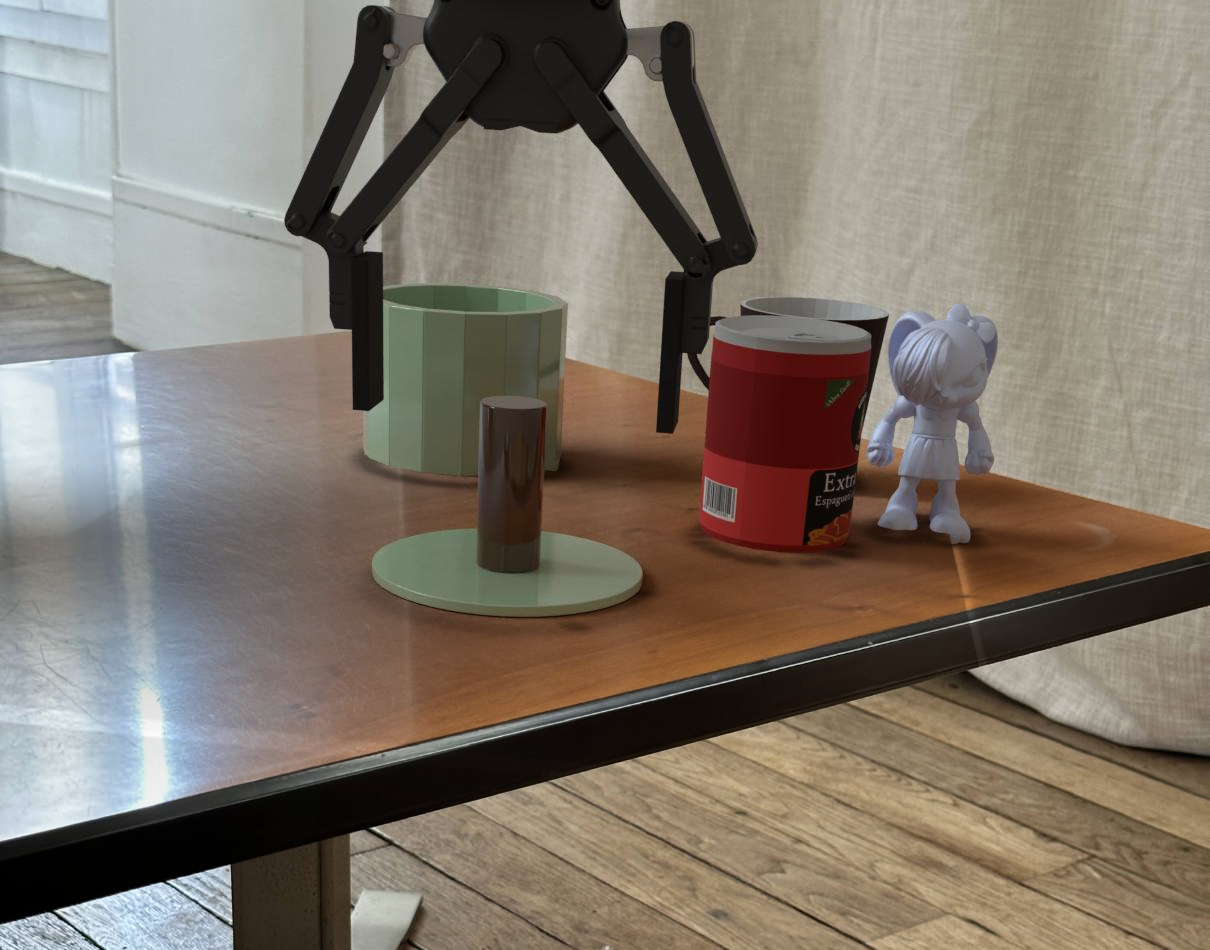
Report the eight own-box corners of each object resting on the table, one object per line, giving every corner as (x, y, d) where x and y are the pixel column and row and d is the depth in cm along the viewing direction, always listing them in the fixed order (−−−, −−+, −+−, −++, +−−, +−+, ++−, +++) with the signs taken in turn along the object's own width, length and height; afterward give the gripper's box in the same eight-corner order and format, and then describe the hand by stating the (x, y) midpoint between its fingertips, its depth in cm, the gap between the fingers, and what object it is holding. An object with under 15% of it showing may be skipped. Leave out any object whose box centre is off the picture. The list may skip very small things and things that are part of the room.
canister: (342, 475, 98) (340, 304, 94) (390, 433, 108) (390, 277, 104) (542, 492, 97) (549, 320, 93) (571, 448, 107) (579, 292, 103)
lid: (340, 615, 75) (339, 418, 72) (406, 540, 86) (407, 367, 83) (625, 642, 74) (638, 443, 70) (653, 562, 85) (666, 387, 82)
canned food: (834, 570, 86) (860, 346, 81) (680, 549, 88) (696, 329, 83) (859, 534, 92) (884, 325, 88) (715, 515, 94) (732, 309, 90)
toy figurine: (858, 540, 91) (886, 308, 86) (857, 510, 97) (883, 292, 92) (989, 551, 91) (1025, 318, 86) (980, 521, 96) (1013, 301, 91)
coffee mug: (898, 488, 102) (920, 316, 98) (788, 502, 98) (806, 323, 94) (775, 446, 111) (790, 287, 107) (668, 457, 107) (679, 291, 102)
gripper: (845, -99, 70) (796, 419, 79) (255, -125, 73) (271, 381, 81) (846, -114, 64) (792, 455, 72) (195, -143, 66) (219, 411, 75)
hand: (516, 416), depth 77 cm, fingers open, 13 cm apart
